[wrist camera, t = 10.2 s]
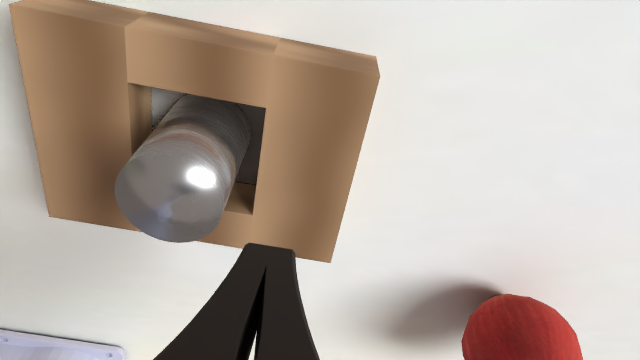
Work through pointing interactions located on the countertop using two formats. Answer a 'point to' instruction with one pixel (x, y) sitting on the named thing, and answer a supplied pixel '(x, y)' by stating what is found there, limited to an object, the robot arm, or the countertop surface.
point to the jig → (203, 80)
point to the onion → (518, 332)
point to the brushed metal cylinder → (185, 170)
